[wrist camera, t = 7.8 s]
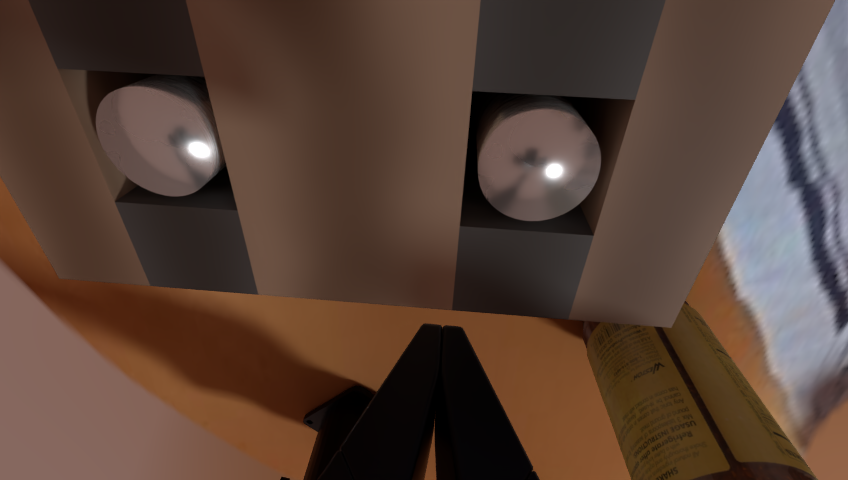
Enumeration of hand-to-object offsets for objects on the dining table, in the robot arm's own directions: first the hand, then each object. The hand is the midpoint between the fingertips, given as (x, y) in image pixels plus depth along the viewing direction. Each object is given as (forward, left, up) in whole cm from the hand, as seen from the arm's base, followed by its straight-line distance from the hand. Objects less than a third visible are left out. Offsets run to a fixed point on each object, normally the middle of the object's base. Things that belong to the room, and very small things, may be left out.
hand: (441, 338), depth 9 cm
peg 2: (+3, -1, -13) cm, 13 cm away
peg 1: (-6, +8, -13) cm, 16 cm away
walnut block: (-1, +4, -13) cm, 13 cm away
